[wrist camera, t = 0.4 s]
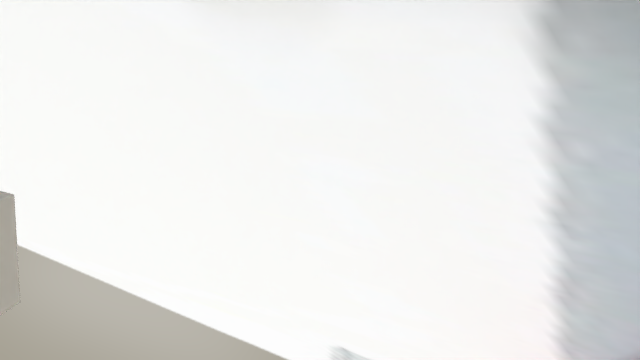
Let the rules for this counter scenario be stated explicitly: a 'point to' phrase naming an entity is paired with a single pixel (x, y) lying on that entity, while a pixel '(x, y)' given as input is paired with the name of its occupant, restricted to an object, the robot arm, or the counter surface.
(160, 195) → the counter surface
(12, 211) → the robot arm
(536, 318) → the counter surface
